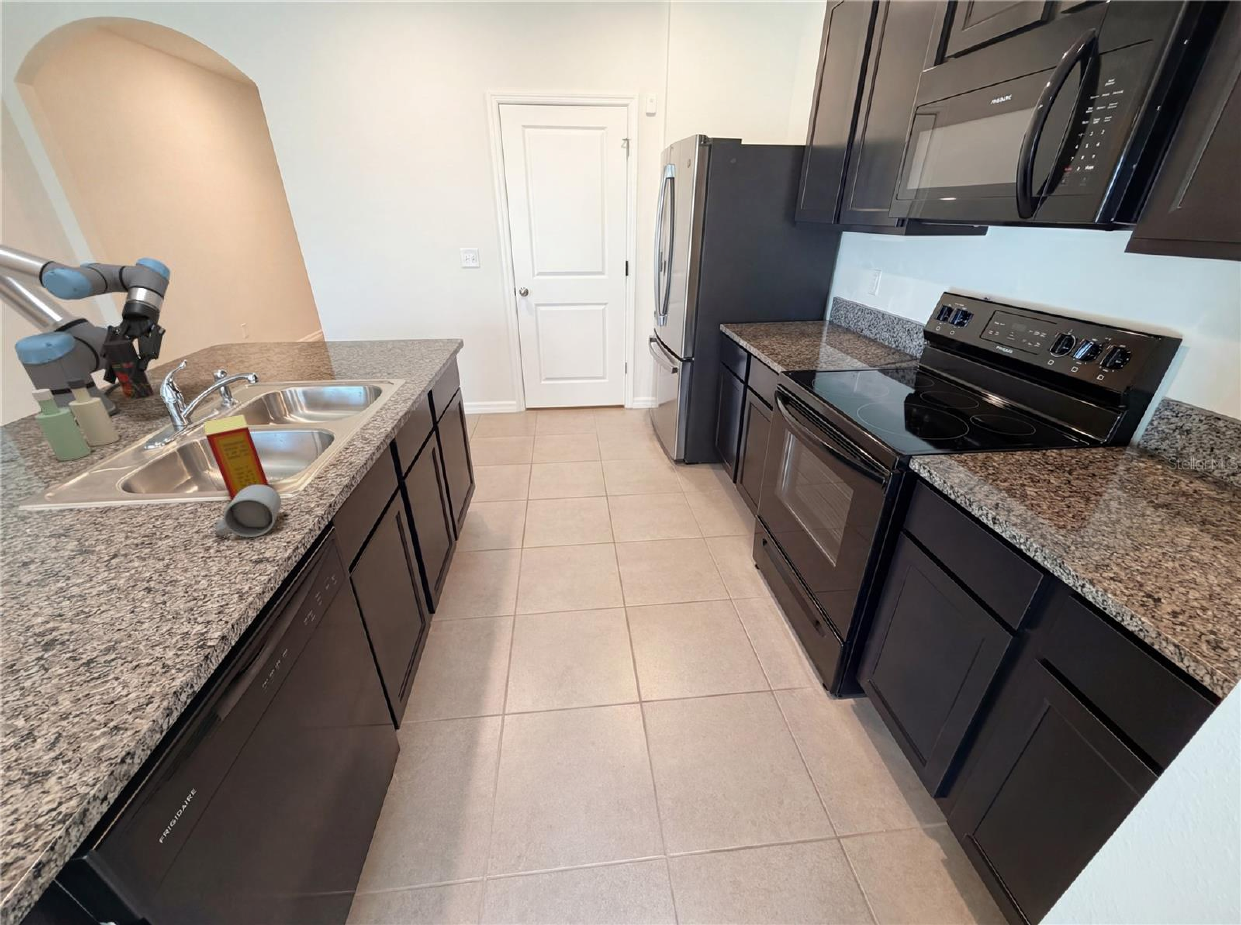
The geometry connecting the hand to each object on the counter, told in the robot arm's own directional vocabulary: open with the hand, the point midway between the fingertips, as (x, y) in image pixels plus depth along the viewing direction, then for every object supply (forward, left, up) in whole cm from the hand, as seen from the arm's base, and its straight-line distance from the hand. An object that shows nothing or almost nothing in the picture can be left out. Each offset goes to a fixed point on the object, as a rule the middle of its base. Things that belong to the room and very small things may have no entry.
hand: (122, 381), depth 136 cm
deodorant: (-3, +1, -6) cm, 7 cm away
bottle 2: (+12, -3, -12) cm, 17 cm away
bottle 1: (+20, -5, -12) cm, 24 cm away
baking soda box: (+57, +41, -13) cm, 72 cm away
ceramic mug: (+72, +45, -13) cm, 86 cm away
